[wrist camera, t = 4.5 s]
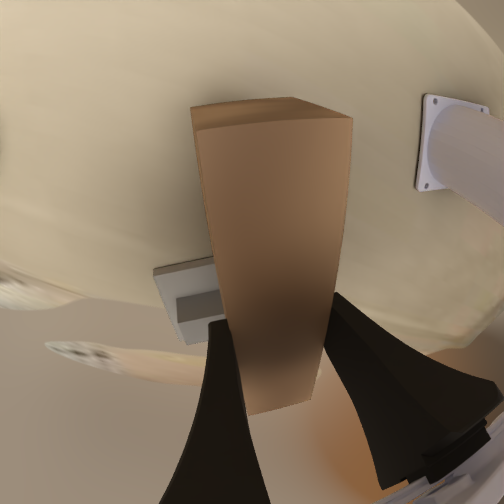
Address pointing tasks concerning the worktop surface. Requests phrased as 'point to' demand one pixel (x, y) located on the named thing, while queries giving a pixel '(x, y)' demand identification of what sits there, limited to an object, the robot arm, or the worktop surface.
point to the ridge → (190, 297)
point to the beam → (275, 234)
